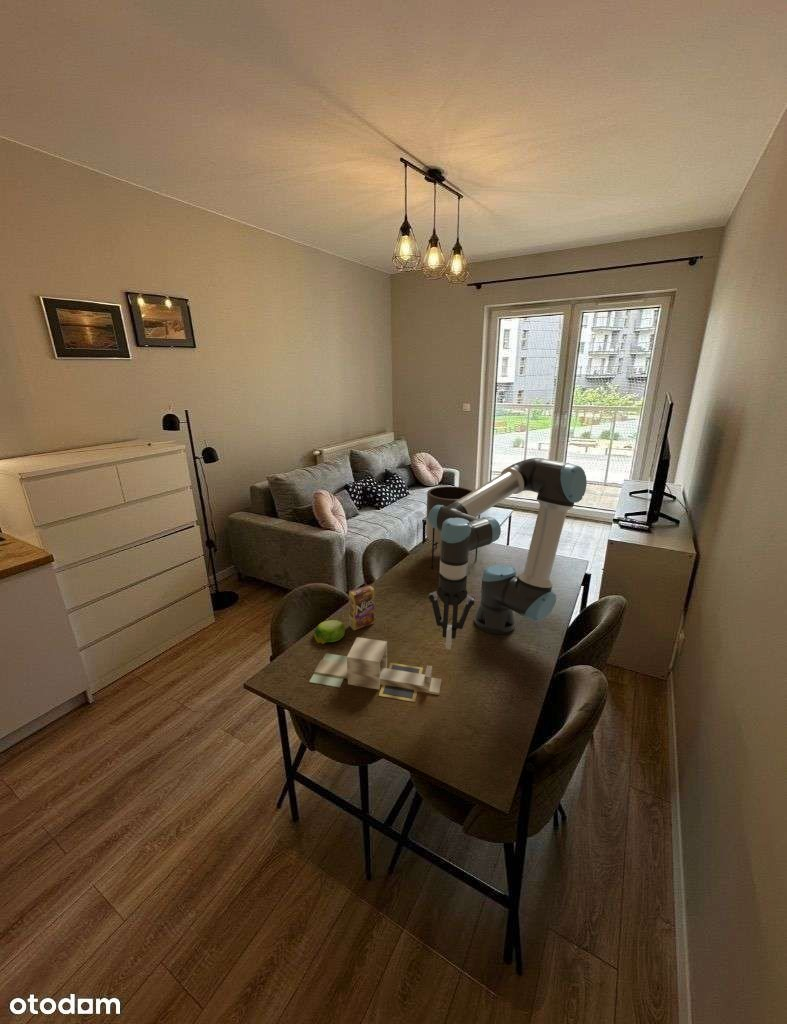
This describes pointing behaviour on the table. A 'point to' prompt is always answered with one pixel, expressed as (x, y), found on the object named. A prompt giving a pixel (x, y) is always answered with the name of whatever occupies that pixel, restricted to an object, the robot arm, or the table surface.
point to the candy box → (361, 607)
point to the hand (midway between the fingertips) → (448, 646)
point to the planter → (444, 497)
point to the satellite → (368, 671)
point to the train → (407, 677)
